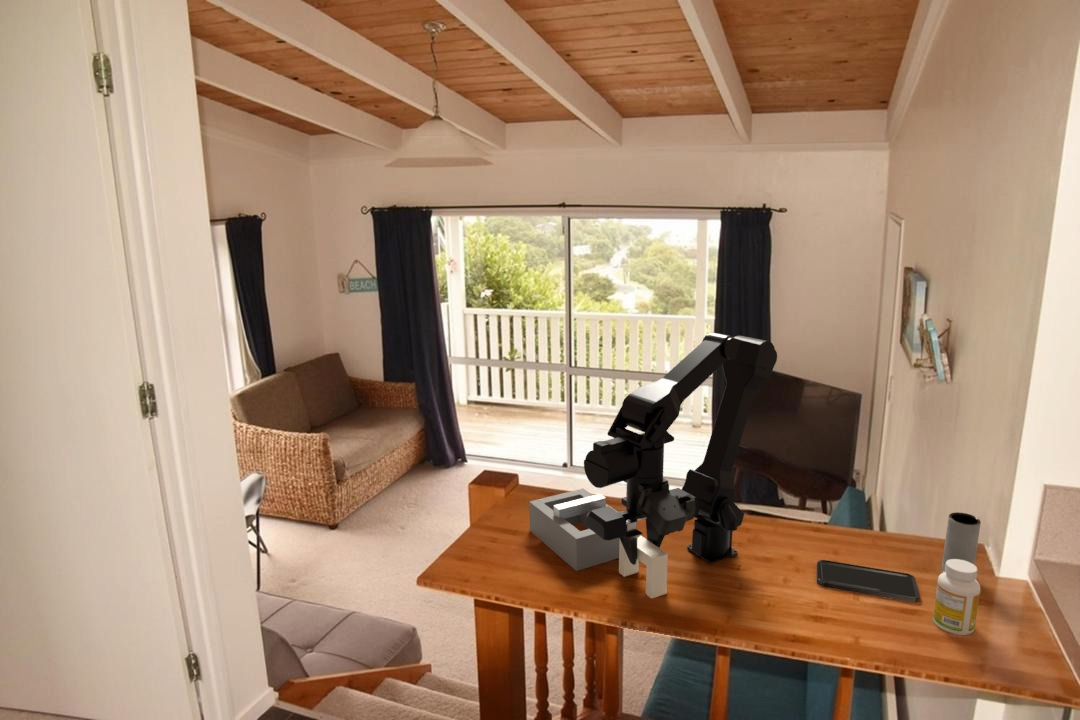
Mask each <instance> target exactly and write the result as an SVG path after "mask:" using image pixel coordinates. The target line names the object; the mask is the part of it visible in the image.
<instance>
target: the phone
mask: <svg viewBox="0 0 1080 720" xmlns="http://www.w3.org/2000/svg"><path fill="white" fill-rule="evenodd" d="M816 583H817V585H818V586H820V587H823V588H828V589H834V590H839V591H846V592H852V593H856V594H857V593H858V594H864V595H868V596H873V597H878V598H879V597H880V598H884V597H886V598H885V599H890V598H892V599H891V600H896V599H898V600H897V601H901V600H902V601H901V602H907V601H908V603H914V602H915V603H918V602H919V601H920V596H921V595H920V591H919V588H918V584H917V579H916V577H915V576H914V575H913V574H911V573H907V572H906V573H905V572H900V571H894V570H888V569H881V568H875V567H870V566H863V565H858V564H853V563H852V564H851V563H846V562H839V561H832V560H828V559H827V560H826V559H818V560H817V562H816Z"/></svg>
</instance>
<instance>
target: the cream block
mask: <svg viewBox="0 0 1080 720" xmlns="http://www.w3.org/2000/svg"><path fill="white" fill-rule="evenodd" d="M668 559H669V553H667V552H666V551H664V550H663V549H662V548H661V547H660V548H659V547H657V546H656V545H654V544H653V543H651V542H650V541H648V540H647V538H646V537H644V536H642V534H641V535H640V536H639V537H638V538H637V560H636V564H635V565H633V564H632V563H630V561H629V559H628V556H627V554H626V552H625V549H624V547H623V545H622V543H621V541H620V538H619V558H618V574H620V575H622V577H624V578H625V577H628V576H631V575H633V574H637V573H639V568H640V567H639V566H640V565H639V564H640V563H639V562H641V563H642V564H643V565H645V566H646V570H645V571H646V575H645V576H646V578H645V595H647V597H648V598H650V599H655V598H658V597H660V596H664V595H666V594H667V590H668V589H667V586H668V565H669V564H668V563H669V562H668Z"/></svg>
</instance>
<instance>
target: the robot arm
mask: <svg viewBox="0 0 1080 720" xmlns="http://www.w3.org/2000/svg"><path fill="white" fill-rule="evenodd" d="M777 361H778V352H777V351H776V348H775V345H774V344H773V343H772V342H771V341H770V340H763V339H760V338H754V337H749V336H744V335H736V336H732V335H729V334H722V333H720V332H719V333H718V332H711V333H707V334H706V335H704V337H703V339H702V341H701V342H700V344H698V345H697V346H696V347H695V348H694V349H693V350H692V351H690V353H688V354H687V355H686V356H685V357H684V358H682V359H681V360H680V362H678V363H677V364H676V365H674V367H672V368H671V369H670V370H669V371H668V372H667V373H666V374H665V375H664V376H663V377H661V378H660V379H658V380H656V381H654V382H650V383H647V384H643V385H642V386H640V387H638V388H637V389H635V390H634V391H633V390H632V392H630V393H629V394H627V396H626V397H625V398H624V399H623V401H622V405H621V407H620V409H619V410H618V413H617V414H616V416H615V418H614V420H613V422H612V424H611V425H610V428H609V429H608V431H607V436H608V437H610V439H607V440H598V441H595V442H593V444H592V450H590V451H589V452H587V454H586V456H585V459H584V460H583V468H584V469H583V470H584V473H585V476H586V478H587V479H588V481H589V483H590V484H591V485H592V486H594V487H595V488H597V489H602V488H605V487H608V486H612V485H615V484H617V483H621V482H624V483H626V494H625V495H626V496H624V497H621V505H622V506H624V507H625V508H626V509H625V510H621V511H618V512H616V511H617V510H616V509H615V510H616V511H615V510H613V509H614V508H613V507H612V508H613V509H612V508H610V507H611V506H610V505H609V506H610V507H609V506H607V507H603V508H599V509H595V510H591V511H590V512H589V513H588V514H587V517H586V527H588V528H589V529H590V530H592V531H593V532H594V533H596V534H597V535H598V536H600V537H601V538H602V539H604V540H613V539H616V538H620V541H621V543H622V545H623V547H624V549H625V552H626V554H627V556H628V559H629V561H630V563H632V564H633V565H635V564H636V560H637V538H638V537H639V536H640V535H641V536H642V534H643V532H642V531H640V530H639V529H638V528H637V527H638V525H637V524H638V521H641V520H645V528H646V529H645V530H646V539H647V540H648V541H650V542H651V543H653V544H654V545H656V546H657V547H659V548H660V549H661V545H662V543H663V541H664V539H665V536H668V535H670V534H672V533H676V532H682V531H683V530H684V528H685V525H686V523H687V522H689V521H692V520H694V522H693V523H694V524H693V525H694V526H693V529H692V535H691V536H692V539H691V543H690V544H688V545H686V546H687V547H686V548H687V550H689V551H691V552H693V554H695V555H697V556H698V557H700V558H702V559H703V560H704V561H706V562H708V563H709V564H714V563H717V562H720V561H724V560H726V559H729V558H731V557H736V556H738V554H739V552H738V551H739V550H736V549H734V548H733V547H732V546H733V531H737V530H738V527H740V526H742V524H743V520H744V517H745V513H744V512H743V511H742V510H741V508H740V507H738V505H737V504H735V502H734V501H735V495H736V491H737V489H736V486H735V485H736V484H735V481H734V477H733V473H732V471H733V467H734V464H735V460H736V458H737V454H738V450H739V448H740V444H741V441H742V437H743V433H744V431H745V427H746V425H747V421H748V416H749V414H750V411H751V407H752V404H753V400H754V397H755V394H756V392H757V391H758V390H759V389H760V388H761V387H762V386H763V385H764V384H766V382H768V380H769V379H770V377H771V374H772V372H773V370H774V369H775V366H776V364H777V363H776V362H777ZM721 367H722V368H721ZM719 368H721V369H722V371H723V374H724V375H723V377H724V378H725V382H726V385H725V388H724V390H723V395H722V398H721V401H720V404H719V408H718V411H717V414H716V419H715V422H714V425H713V429H712V432H711V435H710V438H709V441H708V445H707V448H706V452H705V455H704V459H703V461H702V463H701V464H700V465H699V466H697V467H696V468H695V469H688V471H687V472H686V475H685V479H684V480H685V481H684V485H683V486H682V488H680V487H675V488H673V489H670V484H669V480H668V479H666V478H664V463H665V461H664V459H665V457H664V456H665V444H667V443H672V442H674V441H675V437H674V436H673V435H672V434H671V433H669V432H668V430H669V429H670V427H671V426H672V425H673V423H675V421H676V419H678V417H679V415H680V411H681V405H682V404H683V403H684V401H685V400H686V399H687V398H688V397H690V395H691V394H693V392H695V391H696V390H697V389H698V388H699V387H700V386H701V385H702V384H704V382H705V381H707V380H708V378H709V377H711V376H712V375H713V374H714V373H715V372H716V371H717V370H718V369H719ZM627 427H630V428H632V429H634V430H637V431H639V432H641V433H638V432H636V431H633V430H630V429H628V428H627ZM642 432H643V433H642ZM586 527H585V528H586Z"/></svg>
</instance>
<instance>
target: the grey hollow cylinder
mask: <svg viewBox="0 0 1080 720" xmlns="http://www.w3.org/2000/svg"><path fill="white" fill-rule="evenodd" d="M981 522H982V521H981V520H980V519H979V518H978V517H977V516H974V515H973V514H971V513H970V514H969V513H965V512H950V513H949V515H948V517H947V526H946V533H945V538H944V539H945V540H944V548H943V555H942V562H941V571H942V572H941V574H942V573H944V572H945V564H946V561H947V560H950V559H960V560H964V561H967V562H970V563H972V564H974V565H975V563H976V559H977V558H976V557H977V550H978V544H979V538H980V529H981ZM975 566H976V565H975Z"/></svg>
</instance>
